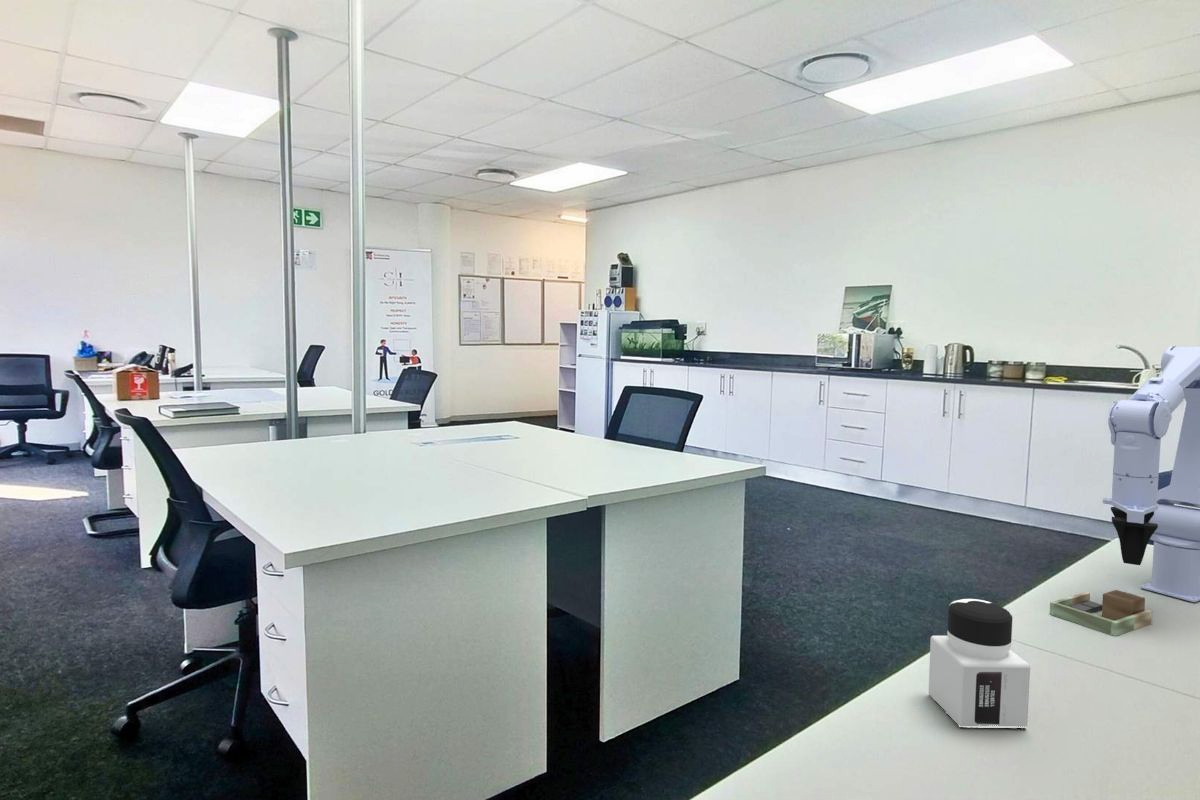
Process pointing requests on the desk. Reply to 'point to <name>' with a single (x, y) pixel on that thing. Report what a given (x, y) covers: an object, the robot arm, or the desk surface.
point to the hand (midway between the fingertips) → (1130, 557)
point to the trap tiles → (1088, 607)
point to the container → (979, 667)
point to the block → (1121, 605)
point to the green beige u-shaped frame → (1096, 622)
